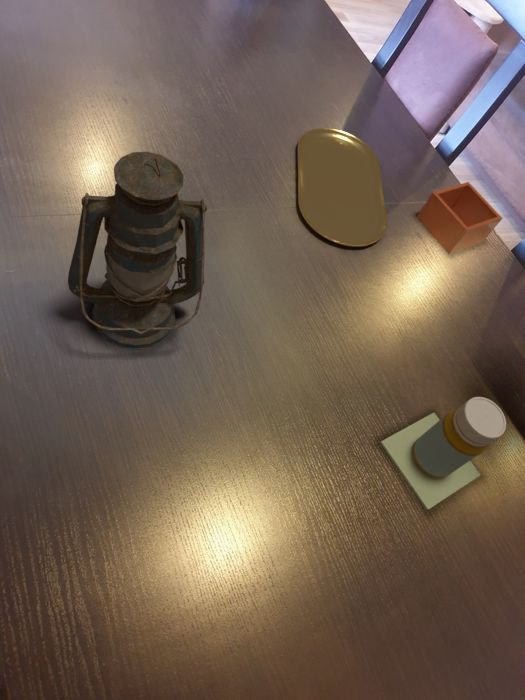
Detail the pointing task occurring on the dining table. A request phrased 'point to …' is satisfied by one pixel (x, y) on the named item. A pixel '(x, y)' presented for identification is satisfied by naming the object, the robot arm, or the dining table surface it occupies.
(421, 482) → the mat
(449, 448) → the bottle
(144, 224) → the lantern
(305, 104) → the dining table surface
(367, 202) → the serving platter
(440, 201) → the box
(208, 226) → the dining table surface
